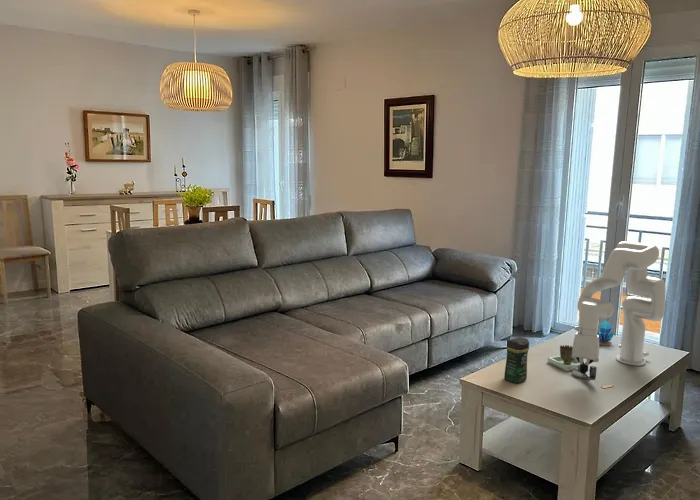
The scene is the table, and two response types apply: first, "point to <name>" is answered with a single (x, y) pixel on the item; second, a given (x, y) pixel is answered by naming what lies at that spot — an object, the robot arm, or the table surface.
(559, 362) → the tray
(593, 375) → the crank
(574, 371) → the crank base
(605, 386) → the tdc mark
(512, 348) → the coffee jar
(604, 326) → the gemstone
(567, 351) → the ornate brass lampshade
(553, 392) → the table surface
